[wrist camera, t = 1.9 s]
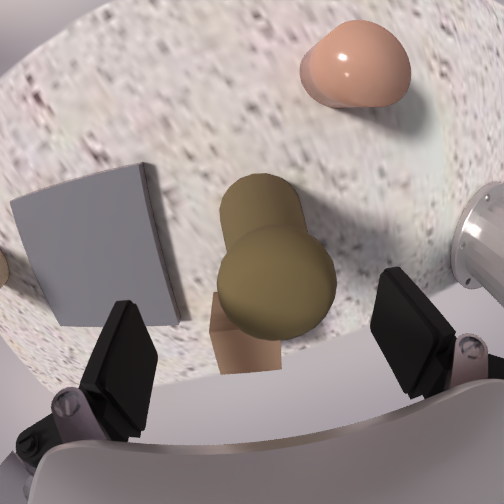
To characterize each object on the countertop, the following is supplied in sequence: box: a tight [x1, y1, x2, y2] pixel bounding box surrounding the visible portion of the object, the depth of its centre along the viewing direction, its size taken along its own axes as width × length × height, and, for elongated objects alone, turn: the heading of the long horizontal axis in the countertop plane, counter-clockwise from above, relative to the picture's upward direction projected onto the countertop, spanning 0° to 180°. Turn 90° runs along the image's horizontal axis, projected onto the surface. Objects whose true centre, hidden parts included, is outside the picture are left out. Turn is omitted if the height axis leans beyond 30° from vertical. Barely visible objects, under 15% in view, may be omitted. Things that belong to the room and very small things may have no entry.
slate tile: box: [10, 162, 181, 327], centre depth 21 cm, size 14×14×1 cm
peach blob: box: [300, 20, 411, 108], centre depth 13 cm, size 5×5×6 cm
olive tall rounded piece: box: [217, 173, 337, 341], centre depth 15 cm, size 6×6×11 cm
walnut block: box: [209, 292, 282, 374], centre depth 22 cm, size 5×5×5 cm
